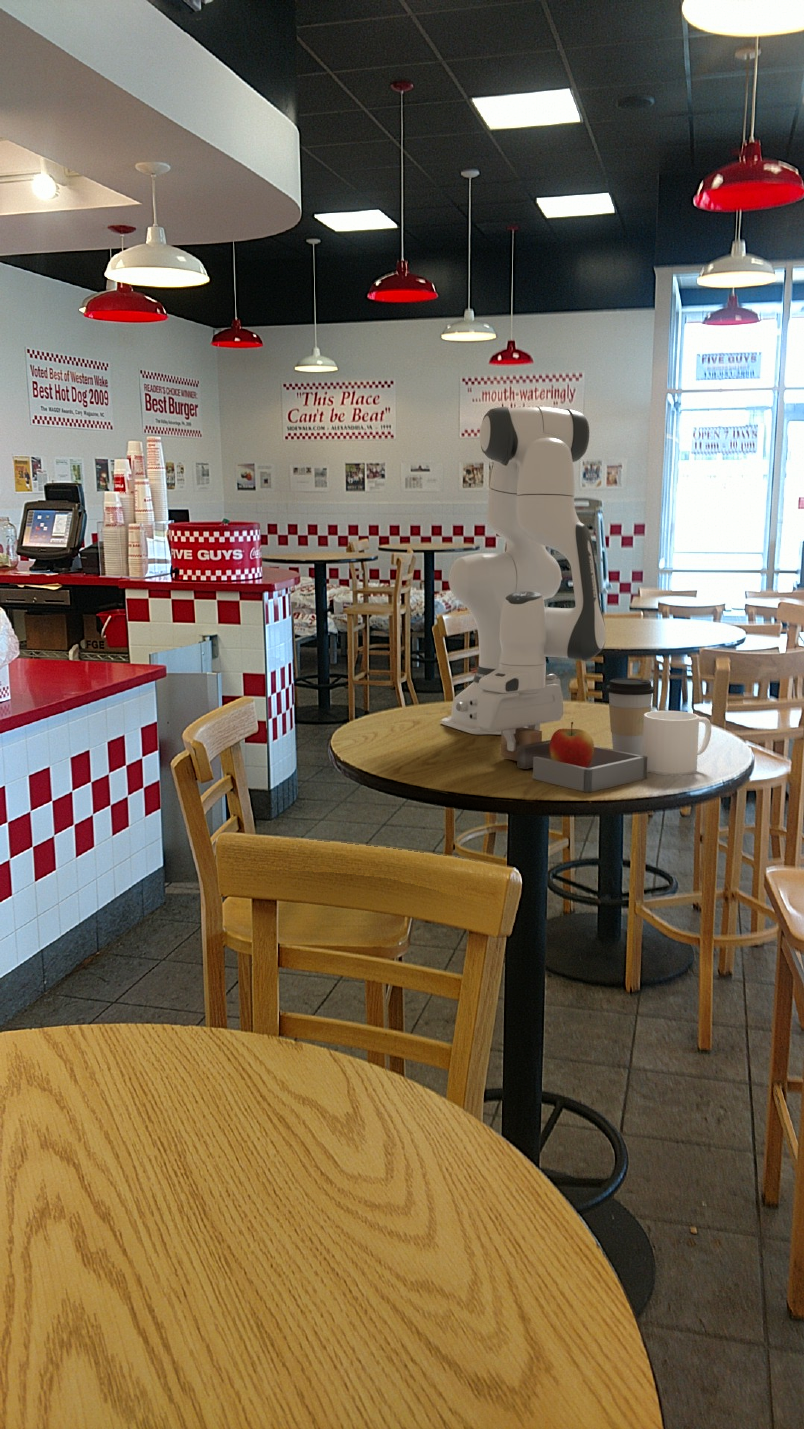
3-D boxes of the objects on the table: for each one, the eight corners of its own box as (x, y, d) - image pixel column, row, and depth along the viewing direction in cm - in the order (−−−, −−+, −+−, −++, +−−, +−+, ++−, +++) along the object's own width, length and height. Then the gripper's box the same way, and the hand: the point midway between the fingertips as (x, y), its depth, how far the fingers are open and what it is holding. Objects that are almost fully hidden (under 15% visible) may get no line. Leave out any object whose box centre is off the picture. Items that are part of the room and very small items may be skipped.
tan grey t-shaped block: (487, 759, 206) (488, 729, 205) (524, 752, 212) (525, 722, 211) (524, 768, 199) (525, 737, 197) (561, 761, 205) (562, 730, 204)
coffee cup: (652, 762, 206) (655, 685, 203) (603, 760, 208) (605, 684, 205) (651, 751, 215) (654, 678, 212) (604, 749, 217) (606, 676, 214)
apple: (594, 770, 200) (595, 717, 198) (592, 780, 192) (593, 726, 190) (551, 768, 201) (552, 716, 200) (547, 778, 194) (548, 724, 192)
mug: (650, 776, 195) (652, 721, 193) (635, 763, 205) (637, 711, 203) (717, 775, 196) (720, 720, 194) (700, 762, 206) (702, 710, 204)
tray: (532, 778, 193) (533, 757, 193) (591, 765, 203) (592, 745, 202) (587, 792, 183) (588, 770, 183) (646, 778, 193) (647, 756, 193)
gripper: (548, 671, 212) (546, 739, 215) (472, 681, 200) (471, 753, 202) (571, 674, 207) (570, 744, 210) (495, 685, 195) (494, 759, 197)
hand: (521, 748), depth 206 cm, fingers closed on tan grey t-shaped block, 3 cm apart
